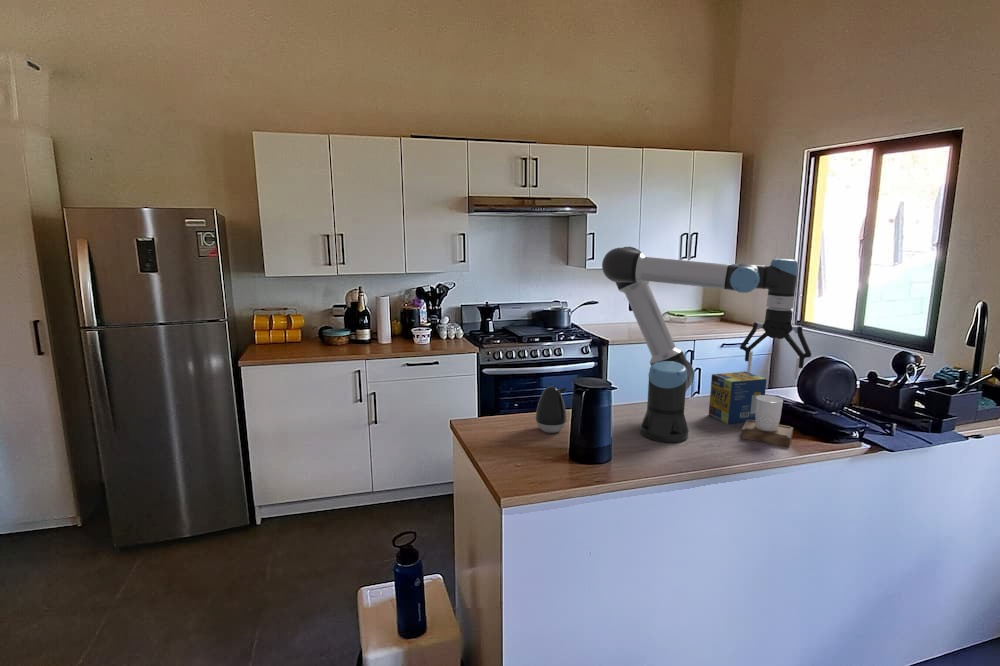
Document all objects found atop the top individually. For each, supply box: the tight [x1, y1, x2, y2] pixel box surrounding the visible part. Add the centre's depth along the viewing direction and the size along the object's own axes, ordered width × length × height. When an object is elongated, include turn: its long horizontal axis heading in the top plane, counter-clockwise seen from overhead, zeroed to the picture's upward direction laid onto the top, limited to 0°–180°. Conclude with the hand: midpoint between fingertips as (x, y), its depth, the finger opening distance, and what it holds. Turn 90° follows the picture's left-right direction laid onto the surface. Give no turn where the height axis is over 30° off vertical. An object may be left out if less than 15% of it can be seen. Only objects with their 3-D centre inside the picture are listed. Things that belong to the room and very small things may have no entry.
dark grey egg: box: [535, 385, 567, 434], centre depth 182 cm, size 10×10×15 cm
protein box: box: [708, 371, 767, 425], centre depth 196 cm, size 10×15×16 cm
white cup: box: [755, 394, 784, 432], centre depth 177 cm, size 8×8×10 cm
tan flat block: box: [740, 420, 794, 448], centre depth 178 cm, size 14×11×3 cm
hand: (772, 374), depth 175 cm, fingers open, 13 cm apart
